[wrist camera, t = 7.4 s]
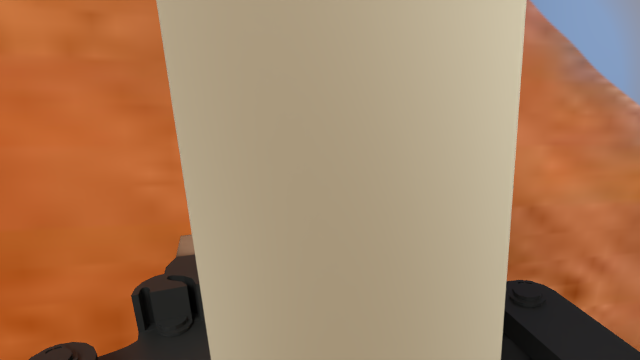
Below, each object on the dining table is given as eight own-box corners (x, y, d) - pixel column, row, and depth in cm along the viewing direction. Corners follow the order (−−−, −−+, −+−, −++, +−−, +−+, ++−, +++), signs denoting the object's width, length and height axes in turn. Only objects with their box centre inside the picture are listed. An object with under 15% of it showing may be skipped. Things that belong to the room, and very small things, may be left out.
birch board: (256, 278, 29) (320, 1075, 8) (222, -34, 24) (102, -340, 2) (292, 273, 29) (452, 1032, 8) (266, -37, 24) (549, -332, 2)
